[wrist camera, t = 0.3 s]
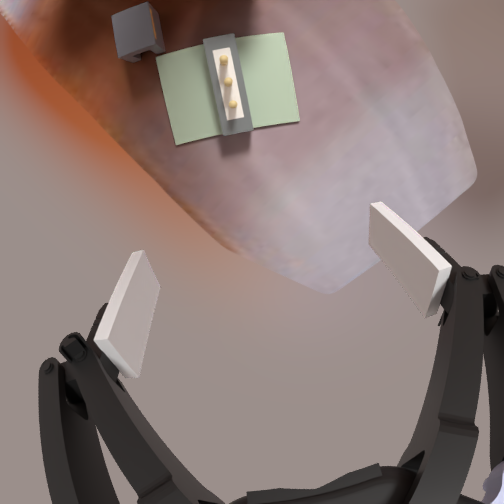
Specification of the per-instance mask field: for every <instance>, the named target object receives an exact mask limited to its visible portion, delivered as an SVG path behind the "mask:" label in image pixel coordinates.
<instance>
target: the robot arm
mask: <svg viewBox="0 0 504 504" xmlns="http://www.w3.org/2000/svg"><path fill="white" fill-rule="evenodd" d="M369 245H370V247H371V248H372V249H373V250H374V251H375V253H376V254H377V255H378V256H379V258H380V259H381V260H382V261H383V263H384V264H385V265H386V266H387V267H388V269H389V270H390V271H391V273H392V274H393V276H394V277H395V278H396V279H397V280H398V282H399V283H400V285H401V286H402V287H403V289H404V290H405V291H406V293H407V294H408V296H409V297H410V298H411V300H412V301H413V303H414V304H415V305H416V307H417V308H418V310H419V311H420V313H421V314H422V315H423V317H424V318H427V317H429V316H432V315H434V314H436V313H437V311H438V308H439V306H440V304H441V306H442V307H443V308H444V311H443V314H442V316H441V319H440V321H439V324H438V326H440V325H441V327H440V334H439V340H438V346H437V351H436V356H435V361H434V366H433V370H432V375H431V379H430V383H429V386H428V390H427V394H426V397H425V401H424V404H423V407H422V411H421V414H420V417H419V420H418V423H417V426H416V429H415V431H414V434H413V437H412V439H411V442H410V444H409V446H408V447H407V449H406V450H405V452H404V453H403V455H402V457H401V459H400V461H399V463H398V465H397V467H395V466H382V467H380V466H379V463H377V464H374V465H371V466H368V467H365V468H363V469H359V470H356V471H353V472H350V473H347V474H345V475H344V476H342V477H340V478H338V479H336V480H334V481H332V482H330V483H328V484H326V485H324V486H322V487H320V488H317V489H283V488H278V489H271V490H261V491H251V492H247V496H244V497H242V498H239V499H237V500H235V501H233V502H231V503H229V504H504V267H503V266H500V265H494V266H493V267H492V269H491V271H490V274H486V275H480V274H479V273H478V272H477V271H476V270H475V269H473V268H471V267H466V266H463V267H461V266H460V265H459V264H458V263H457V262H456V261H455V260H454V259H453V258H451V256H450V255H448V254H447V253H445V251H444V250H443V249H442V248H440V246H439V245H438V244H437V243H436V242H435V241H433V240H431V239H429V238H427V237H421V236H420V235H419V234H418V233H417V232H416V231H415V230H414V229H413V228H412V227H410V226H409V225H408V224H407V223H406V222H405V221H404V220H402V219H401V218H400V217H399V216H398V215H397V214H395V213H394V212H393V211H392V210H391V209H389V208H388V207H387V206H386V205H385V204H383V203H382V202H376V203H370V224H369ZM159 291H160V285H159V283H158V281H157V278H156V276H155V274H154V272H153V270H152V267H151V265H150V263H149V261H148V258H147V256H146V254H145V251H144V250H141V251H136V252H133V253H132V254H131V256H130V258H129V260H128V262H127V264H126V266H125V268H124V271H123V273H122V275H121V277H120V279H119V281H118V283H117V285H116V287H115V290H114V292H113V294H112V296H111V299H110V301H109V303H105V304H104V305H103V306H102V308H101V309H100V310H99V312H98V314H97V316H96V320H95V321H94V323H93V326H92V328H91V331H90V333H89V336H88V338H87V341H85V340H84V338H83V337H82V336H81V334H80V333H77V332H74V333H71V334H69V335H67V336H66V337H65V338H64V339H63V341H62V342H61V344H60V346H59V352H60V353H61V354H62V355H63V356H64V357H65V358H66V360H67V361H66V362H63V363H61V364H60V363H59V362H58V361H57V359H56V358H53V357H51V358H48V359H47V360H45V361H44V362H43V363H42V365H41V367H40V370H39V424H40V437H41V446H42V454H43V461H44V467H45V473H46V478H47V483H48V488H49V492H50V496H51V500H52V504H120V503H119V501H118V498H117V496H116V493H115V490H114V488H113V485H112V482H111V479H110V476H109V473H108V470H107V467H106V464H105V461H104V457H103V453H102V450H101V446H100V442H99V438H98V435H97V430H96V427H97V429H98V431H99V433H100V434H101V436H102V438H103V440H104V442H105V444H106V446H107V447H108V449H109V451H110V453H111V454H112V456H113V458H114V459H115V461H116V463H117V464H118V466H119V468H120V469H121V471H122V472H123V474H124V475H125V477H126V478H127V480H128V481H129V483H130V484H131V486H132V487H133V489H134V490H135V491H136V493H137V495H138V497H139V499H138V501H137V503H138V504H225V503H224V502H223V501H222V500H220V499H219V498H218V497H217V496H216V495H214V494H213V493H212V492H210V491H209V490H207V489H206V488H205V487H204V486H202V484H201V483H199V482H198V480H196V478H195V477H194V476H193V475H192V474H191V473H190V472H189V471H188V470H187V469H186V468H185V467H184V466H183V464H182V463H181V462H180V461H179V460H178V459H177V458H176V456H175V455H174V454H173V453H172V452H171V450H170V449H169V448H168V447H167V446H166V444H165V443H164V442H163V441H162V440H161V438H160V437H159V436H158V434H157V433H156V432H155V431H154V429H153V428H152V427H151V425H150V424H149V422H148V421H147V420H146V418H145V417H144V416H143V414H142V413H141V411H140V410H139V409H138V407H137V406H136V404H135V403H134V401H133V400H132V398H131V397H130V395H129V394H128V392H127V390H126V389H125V387H124V386H123V384H122V382H121V381H120V380H119V379H118V374H119V371H120V373H121V374H122V375H123V376H124V377H125V378H139V376H140V371H141V366H142V361H143V356H144V352H145V347H146V342H147V338H148V334H149V330H150V326H151V322H152V318H153V314H154V310H155V306H156V302H157V298H158V294H159ZM498 310H499V312H498ZM483 354H484V360H485V366H486V374H487V382H488V392H489V405H490V464H491V473H490V475H489V477H488V478H487V479H486V480H485V481H484V483H483V489H484V491H486V493H485V496H484V498H483V500H482V501H481V502H480V501H477V500H474V499H472V498H469V497H467V496H464V495H462V494H460V493H461V491H462V488H463V486H464V483H465V480H466V477H467V474H468V471H469V468H470V465H471V462H472V458H473V455H474V451H475V448H476V444H477V440H478V434H479V430H478V427H477V426H475V424H474V421H475V414H476V409H477V404H478V398H479V391H480V383H481V374H482V361H483ZM95 425H96V426H95Z"/></svg>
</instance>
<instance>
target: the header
mask: <svg viewBox="0 0 504 504" xmlns="http://www.w3.org/2000/svg"><path fill="white" fill-rule="evenodd" d="M203 43H204V44H202V45H198V46H193V47H189V48H186V49H182V50H178V51H175V52H171V53H168V54H165V55H161V56H158V57H156V62H157V66H158V71H159V76H160V80H161V85H162V89H163V94H164V98H165V103H166V107H167V111H168V115H169V119H170V123H171V128H172V132H173V136H174V139H175V143H176V145H179V144H183V143H186V142H190V141H194V140H198V139H202V138H207V137H211V136H215V135H220V134H223V136H226V135H231V134H236V133H241V132H247V131H252V130H254V129H253V128H256V127H262V126H268V125H274V124H281V123H288V122H296V121H300V119H299V113H298V106H297V100H296V94H295V88H294V83H293V77H292V72H291V66H290V61H289V56H288V51H287V46H286V42H285V37H284V33H271V34H261V35H253V36H245V37H238V38H235V35H234V33H232V34H227V35H221V36H216V37H211V38H206V39H203Z"/></svg>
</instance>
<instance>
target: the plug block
mask: <svg viewBox="0 0 504 504" xmlns="http://www.w3.org/2000/svg"><path fill="white" fill-rule="evenodd" d="M111 17H112V24H113V30H114V37H115V43H116V49H117V54H118V58H120V59H123V60H126V61H129V62H132V63H134V62H137V61H140V60H141V55H140V53H142V52H145V51H148V50H151V51H152V52H154V53H156V54H160V53H163V52H166V50H165V45H164V40H163V35H162V30H161V24H160V19H159V14H158V12H157V11H156V10H155V9H154V8H153V7H152V5H151V4H150V3H149V2H148V1H147V2H144V3H142V4H139V5H136V6H134V7H131V8H128V9H126V10H123V11H121V12H119V13H116V14H114V15H112V16H111Z"/></svg>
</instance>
